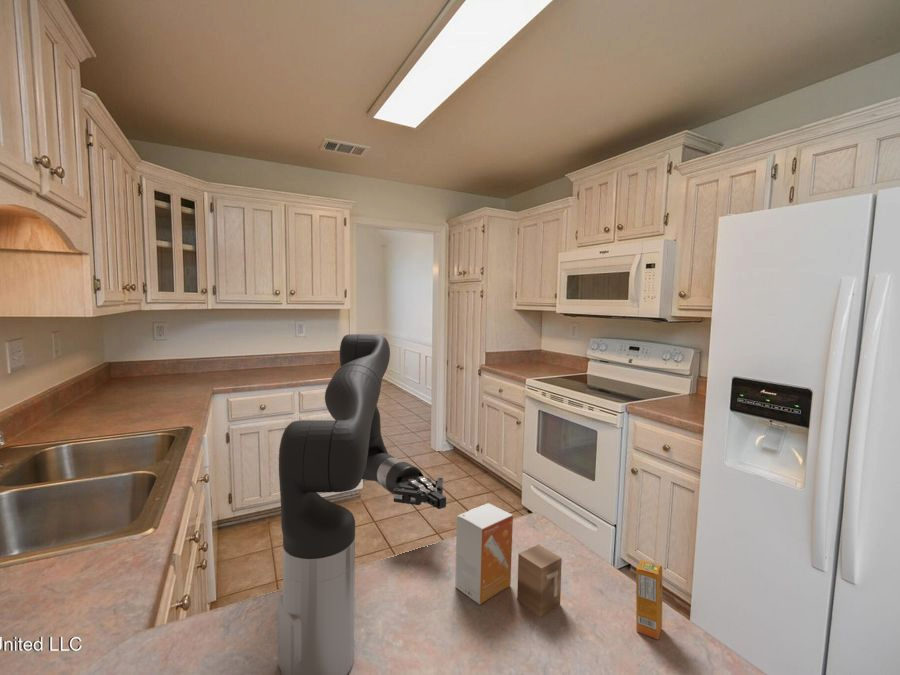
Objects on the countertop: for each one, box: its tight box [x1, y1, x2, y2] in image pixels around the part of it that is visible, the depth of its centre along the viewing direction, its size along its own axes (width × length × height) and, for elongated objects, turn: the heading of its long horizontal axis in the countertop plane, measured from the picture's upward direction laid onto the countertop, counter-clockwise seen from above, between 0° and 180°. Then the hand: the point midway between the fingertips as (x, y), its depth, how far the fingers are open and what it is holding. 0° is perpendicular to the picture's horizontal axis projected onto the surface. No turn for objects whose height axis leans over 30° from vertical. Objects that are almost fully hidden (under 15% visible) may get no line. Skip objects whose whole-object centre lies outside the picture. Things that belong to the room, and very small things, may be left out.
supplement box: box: [635, 559, 663, 640], centre depth 63 cm, size 3×3×10 cm
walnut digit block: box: [516, 544, 563, 618], centre depth 69 cm, size 5×5×8 cm
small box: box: [454, 502, 514, 605], centre depth 73 cm, size 8×6×13 cm
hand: (443, 503), depth 82 cm, fingers closed
